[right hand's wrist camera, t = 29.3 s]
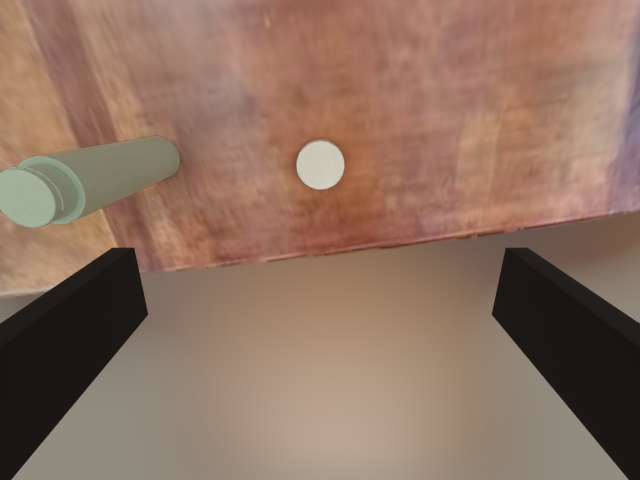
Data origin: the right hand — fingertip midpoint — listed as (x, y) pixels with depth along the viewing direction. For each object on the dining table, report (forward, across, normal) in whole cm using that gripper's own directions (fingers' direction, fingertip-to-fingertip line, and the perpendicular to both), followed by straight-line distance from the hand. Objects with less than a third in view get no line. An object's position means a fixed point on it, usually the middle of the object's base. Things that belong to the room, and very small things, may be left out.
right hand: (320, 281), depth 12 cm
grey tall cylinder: (+30, +19, 0) cm, 36 cm away
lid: (+28, 0, 0) cm, 28 cm away
